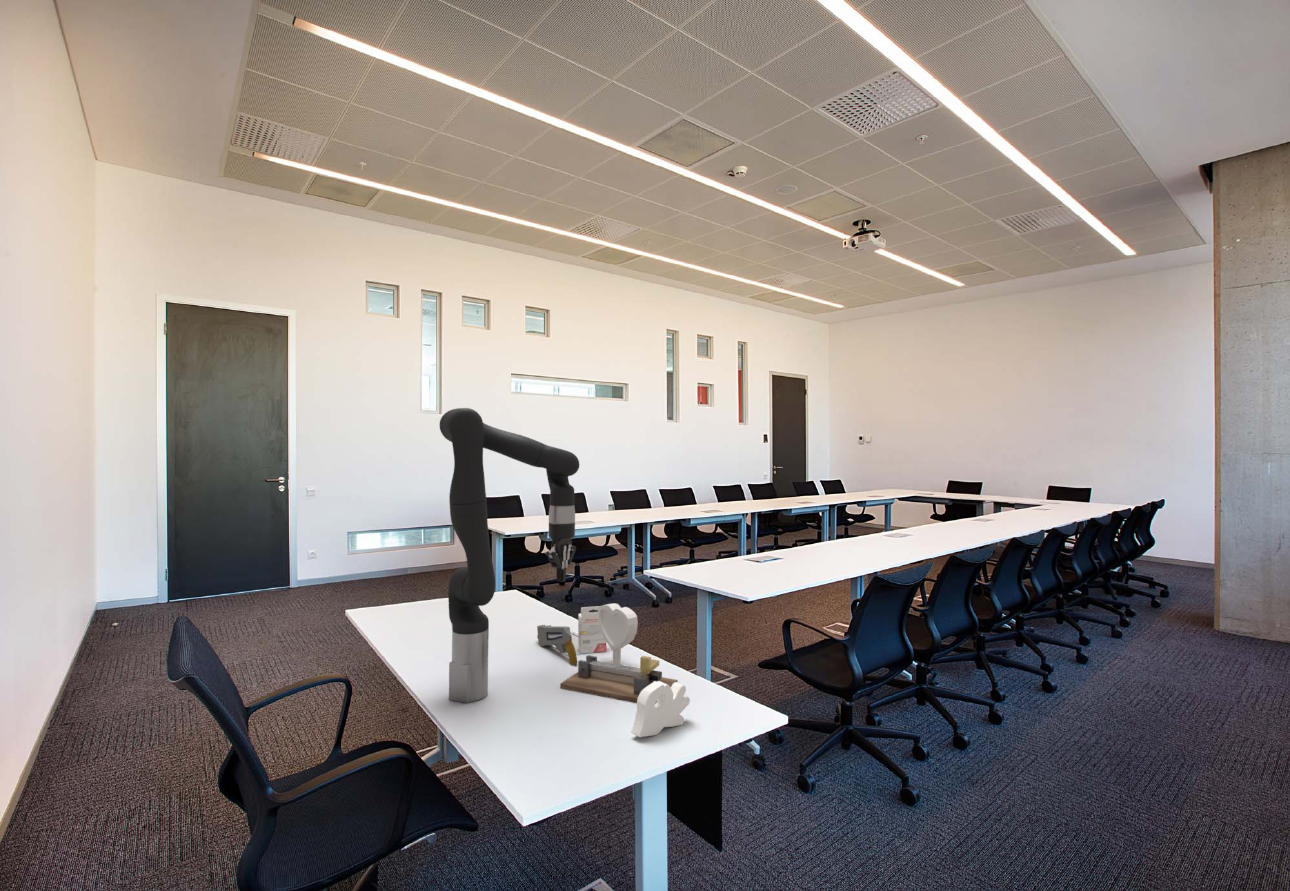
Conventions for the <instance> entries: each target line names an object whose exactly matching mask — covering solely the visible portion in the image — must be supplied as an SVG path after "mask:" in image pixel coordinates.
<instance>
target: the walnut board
mask: <svg viewBox="0 0 1290 891" xmlns="http://www.w3.org/2000/svg"><path fill="white" fill-rule="evenodd" d="M662 682H663V683H665V684H667V685H669V686H670V687H671V686H672V684H673V683H675V682H678V683H679V681H678V679H675V678H668V677H663V676H662ZM559 688H560V689H561V690H568V691H573V692H578V693H584V694H589V695H594V696H598V697H599V696H600V697H605V698H609V699H610V698H611V699H614V700H615V699H616V700H621V701H625V702H631V703H635V704H637V699H638V696H639V695H636V694H634V685H630V684H625V683H619V682H614V681H608V680H602V679H597V678H591V677H589V678H588V679H586V678H580V677H578V671H577V672H576V673H574V674H573V675H571V676H569V677H568V678H566V679H565V680H564V681H562V682H561V683H560V684H559ZM656 703H657V701H656ZM656 703H655V704H656Z"/></svg>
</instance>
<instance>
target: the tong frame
mask: <svg viewBox="0 0 1290 891" xmlns="http://www.w3.org/2000/svg"><path fill="white" fill-rule="evenodd" d="M585 659H586V660H582V659H580V660H577V665H578V666H577V672H578V677H580V678H586V679H588V678H589V677H591V678H597V679H602V680H608V681H614V682H619V683H625V684H630V685H634V694H636V695H639V694H640V692H641V691H642V690H643V689H644V688H646V687H647V686H648V685H650V684H651V683H653V682H654V680H649V676H645V675H639V674H638V675H637V676H636V677H631V676H625V675H619V674H614V673H608V672H602V671H596V670H591V669H589V663H590V662H592V661H593V660H594V661H598V656H596V655H595V656H594V655H588V654H587V655H586V657H585ZM659 681H661V682H662V678H661V679H660V680H659ZM656 682H657V681H656Z"/></svg>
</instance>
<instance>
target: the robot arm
mask: <svg viewBox="0 0 1290 891" xmlns="http://www.w3.org/2000/svg"><path fill="white" fill-rule="evenodd" d="M439 430H440V433H441V435H442V436H443V437H444V438H445V439H446V440H448V442H451V444H452V452H453V459H454V460H453V462H454V466H453V474H452V479H451V482H450V486H449V495H448V496H449V498H448V499H449V514H450V522H451V525H452V528H453V530H454V532H455V534H456V536H457V538H458V540H459V541H460V542H459V543H460V544H461V545H462V548H463V549H464V553H465V558H466V565H467V566H462V567H459V568H457V569H455V570H454V572H453V573H452V575H451V577H450V579H449V581H448V600H447V601H448V617H449V621H450V623H451V627H452V628H451V631H452V632H451V634H452V637H451V661H450V662H449V663H448V700H451V701H454V702H460V703H464V704H469V703H471V702H476V701H480V700H482V699H484V698H486V697H487V696H488V694H489V636H490V634H489V625H490V622H489V618H488V616H487V615H486V614H485V612H483V611H482V610H481V608H480V607H482V606H485V605H488V604H489V603H490V602H491V601H492V599H493V597H494V596H495V591H496V576H495V575H496V574H495V571H494V570H495V569H494V565H493V559H492V552H491V546H490V536H489V525H488V524H489V522H488V505H487V503H488V502H487V501H488V500H487V492H486V482H485V480H486V479H485V478H486V477H485V471H484V449H486V450H489V451H492V452H495V453H497V454H500V455H502V456H505V457H507V458H510V459H512V460H515V461H517V462H521V463H523V464H525V465H528V466H531V467H535V468H542V469H545V470H546V472H545V473H546V477H547V482H548V486H549V511H548V538H550V539H551V540H552V541H551V545H550V547H551V549H550V550H548V551H546V553H545V554H546V557H547V559H548V561H549V564H550V565H551V567H552V568H555V569H556V582H559V583H563V582H566V580H567V568H568V566H570V565H571V564H572V562H573V558H574V555H575V553H576V550H577V546H576V545H572V544H573V542H572V539H573V538H575V537H576V509H575V497H576V496H575V494H576V493H575V488H574V486H572V485H571V484H570V481H569V477H572V476H573V475H576V473H578V471H579V469H580V460H579V458H578V457H577V455H576V454H574V453H573V452H571V451H568V450H565V449H562V448H559V447H554V446H551V445H548V444H545V443H543V442H540V441H538V440H536V439H533V438H531V437H529V436H528V437H527V436H526V435H525V436H524V435H521V434H518V433H515V432H511V431H506V430H502V429H500V428H498V427H493V426H491V425H488V424H486V423H484V422H483V419H482V416H481V414H480V413H478V412H477V410H474V409H472V408H469V407H462V408H461V407H458V408H453V409H450V410H448V411H446V412H445V413H444V414H443V415H442V416H441V417H440V420H439Z"/></svg>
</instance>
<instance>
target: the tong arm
mask: <svg viewBox="0 0 1290 891" xmlns="http://www.w3.org/2000/svg"><path fill="white" fill-rule="evenodd" d="M624 665H625V664H622V665H618V664H612V663H606V662H601V661H600V660H597V661H594V660H593V661H592V662H590V663H589V669H591V670H596V671H602V672H608V673H614V674H619V675H625V676H631V677H636V676H637V675H638V674H639V675H645V676H649V680H654V681H659V680H660V679H661V678H662V677H663V672H662V671H659V670H655V669H654V670H653V671H652V672H651V673H649V674H644V673H640V667H637V666H630V665H625V666H624Z"/></svg>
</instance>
